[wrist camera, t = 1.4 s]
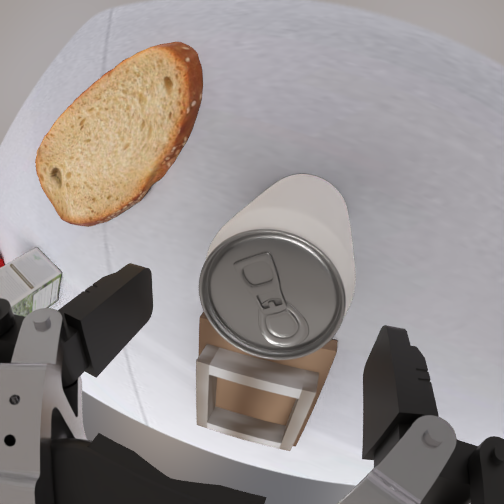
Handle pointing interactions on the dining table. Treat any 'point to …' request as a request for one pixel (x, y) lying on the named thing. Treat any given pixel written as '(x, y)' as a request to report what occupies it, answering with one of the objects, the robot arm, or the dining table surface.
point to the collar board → (257, 390)
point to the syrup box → (30, 282)
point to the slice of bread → (121, 134)
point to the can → (282, 270)
